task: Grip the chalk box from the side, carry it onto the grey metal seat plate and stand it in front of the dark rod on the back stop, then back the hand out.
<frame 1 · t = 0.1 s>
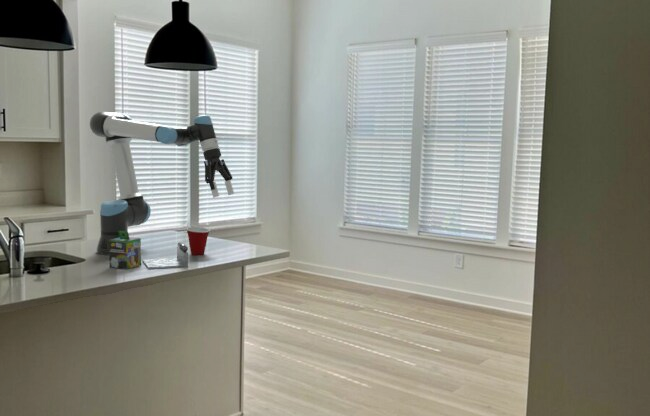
hand: (224, 195, 273), 28 cm above the countertop, tool tilted 20°, fingers open, 13 cm apart
plastic cup: (198, 254, 281), on the countertop
chalk box: (125, 267, 250), on the countertop
shaft seat: (165, 264, 257), on the countertop
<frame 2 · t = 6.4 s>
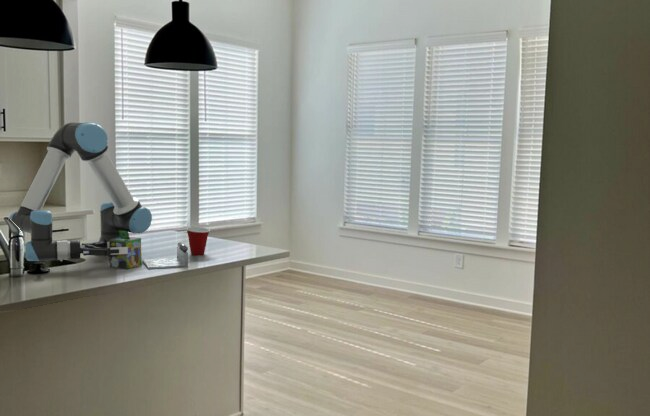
hand: (125, 247, 249), 8 cm above the countertop, tool horizontal, fingers open, 13 cm apart
chalk box: (125, 266, 250), on the countertop, touching gripper
everything else where it was.
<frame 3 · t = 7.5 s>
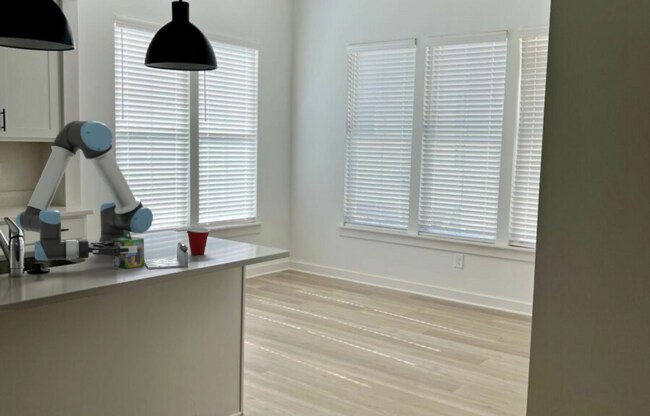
hand: (135, 246, 251), 8 cm above the countertop, tool horizontal, fingers closed on chalk box, 11 cm apart
chalk box: (128, 266, 251), on the countertop, touching gripper
everything else where it was.
when the fingers open (10 cm above the countertop, at t = 12.9 s): chalk box drops 2 cm, resting on shaft seat.
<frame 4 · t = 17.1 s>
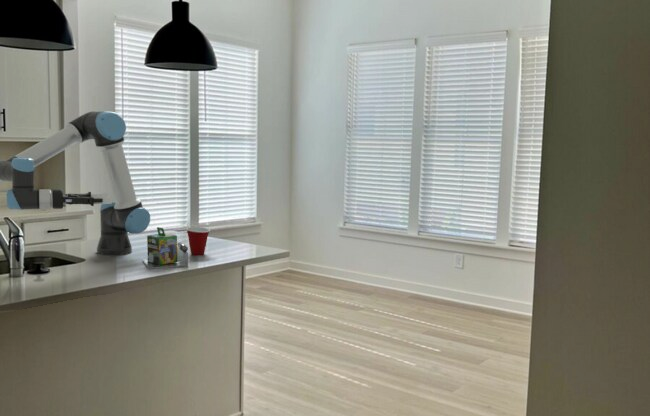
hand: (110, 198, 245), 28 cm above the countertop, tool horizontal, fingers open, 13 cm apart
chalk box: (162, 262, 256), point 1 cm above the countertop, touching shaft seat
everything else where it was.
at the end: chalk box inside the target area on the shaft seat (1.4 cm from its centre), point 0.6 cm above the shaft seat's base; chalk box tilted 0°; the gripper is holding nothing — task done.
